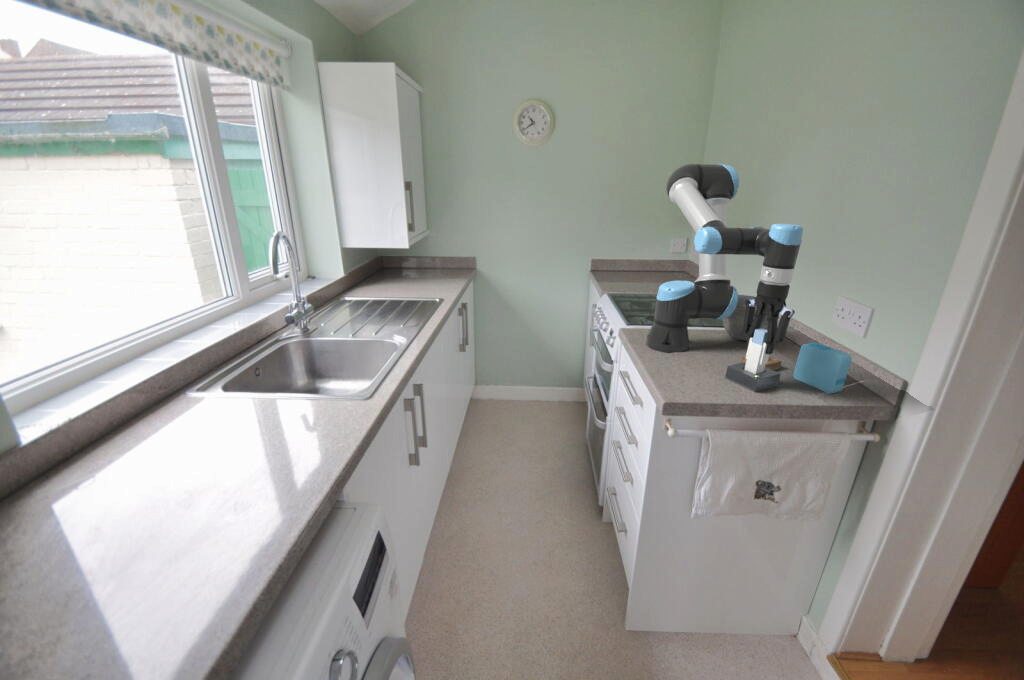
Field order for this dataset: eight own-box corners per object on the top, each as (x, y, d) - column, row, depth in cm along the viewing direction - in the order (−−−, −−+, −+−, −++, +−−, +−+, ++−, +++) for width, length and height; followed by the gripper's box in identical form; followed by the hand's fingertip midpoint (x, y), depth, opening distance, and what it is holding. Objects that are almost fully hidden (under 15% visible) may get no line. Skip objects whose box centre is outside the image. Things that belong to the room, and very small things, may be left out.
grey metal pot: (707, 336, 168) (714, 299, 163) (727, 327, 179) (734, 292, 174) (755, 349, 156) (765, 309, 150) (773, 339, 167) (783, 301, 161)
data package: (841, 393, 124) (853, 355, 120) (830, 396, 123) (843, 357, 119) (801, 376, 135) (812, 340, 131) (791, 378, 133) (801, 342, 129)
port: (724, 379, 132) (727, 364, 130) (746, 374, 136) (750, 359, 134) (754, 393, 123) (758, 378, 121) (777, 387, 127) (781, 372, 126)
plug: (744, 370, 129) (753, 329, 124) (752, 368, 130) (761, 327, 126) (755, 375, 126) (765, 333, 121) (763, 373, 127) (773, 331, 123)
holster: (740, 364, 143) (742, 356, 142) (757, 360, 146) (758, 352, 145) (763, 373, 136) (765, 365, 135) (779, 369, 139) (781, 361, 138)
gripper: (738, 277, 124) (723, 352, 132) (795, 290, 110) (774, 373, 118) (756, 275, 127) (740, 349, 135) (813, 287, 113) (792, 369, 121)
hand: (756, 360), depth 127 cm, fingers closed on plug, 4 cm apart
